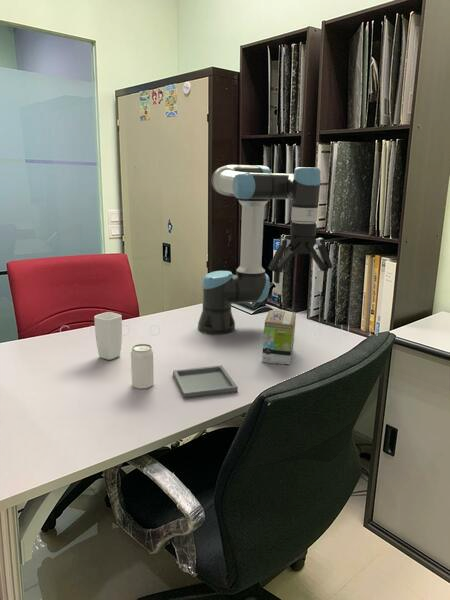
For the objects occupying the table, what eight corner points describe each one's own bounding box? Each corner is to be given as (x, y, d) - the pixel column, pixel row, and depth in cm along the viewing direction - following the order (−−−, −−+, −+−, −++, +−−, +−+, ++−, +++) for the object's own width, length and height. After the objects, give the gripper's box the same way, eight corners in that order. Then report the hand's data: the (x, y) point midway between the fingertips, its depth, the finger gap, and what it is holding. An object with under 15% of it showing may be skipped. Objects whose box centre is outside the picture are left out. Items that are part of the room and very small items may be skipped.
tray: (173, 375, 146) (173, 370, 146) (221, 370, 151) (221, 365, 150) (184, 399, 131) (184, 393, 131) (237, 392, 136) (237, 386, 136)
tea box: (290, 365, 156) (293, 324, 152) (261, 362, 158) (263, 321, 154) (293, 349, 170) (296, 311, 166) (266, 347, 172) (268, 308, 168)
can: (133, 380, 142) (131, 343, 139) (154, 379, 143) (153, 343, 140) (130, 389, 136) (129, 351, 133) (152, 389, 137) (152, 351, 133)
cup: (125, 356, 160) (123, 315, 156) (109, 363, 154) (107, 320, 150) (110, 351, 164) (108, 311, 160) (94, 357, 158) (92, 316, 154)
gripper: (269, 224, 128) (266, 297, 134) (348, 223, 136) (341, 293, 142) (259, 221, 135) (256, 291, 141) (334, 220, 143) (328, 287, 149)
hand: (298, 292), depth 141 cm, fingers open, 13 cm apart
